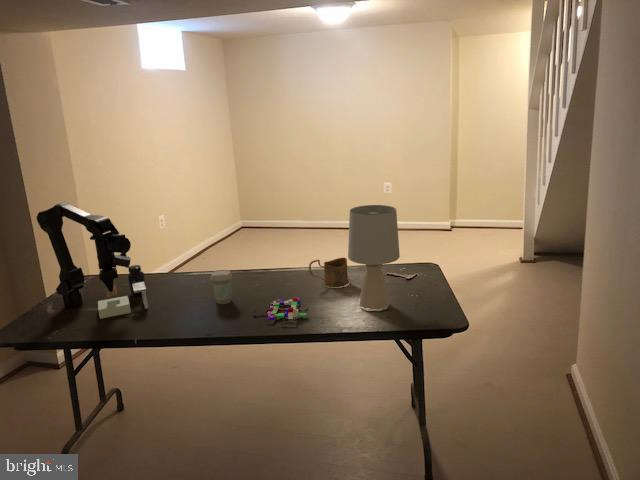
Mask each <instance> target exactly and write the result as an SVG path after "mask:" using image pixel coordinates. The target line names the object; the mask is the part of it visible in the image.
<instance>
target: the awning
mask: <svg viewBox="0 0 640 480" xmlns="http://www.w3.org/2000/svg"><path fill="white" fill-rule="evenodd" d="M132 286H133V290H134V293H137V292H142V295H141V298H142V303H143V307H144V309H145V310H147V309H149V304H148V298H147V293H146V288H147V286H146V287H145V284H144V282H140V283H134V284H132Z"/></svg>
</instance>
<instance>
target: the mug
mask: <svg viewBox="0 0 640 480" xmlns="http://www.w3.org/2000/svg"><path fill="white" fill-rule="evenodd" d="M316 262H317V264H318V265H319V267H321V268H322V269H323V268H324V269H323V270H324V272H323V273H324V278H322V277H321V276H319V275H315V274H313V272H312V264H314V263H316ZM320 262H321V261H320V259H315V260H311V261H310V263H309V264H308V269H309V273H310V275H311V276H313V277H315V278H318V279H320V280H322V281H323V282H322V285H323V284H324V285H325V286H329V287H340V286H344V285H346V284H348V283H349V281H350V280H349V277H348V259H347V258H346V257H339V258H335V259H331V260H329V261H325V262H323V265H321V263H320Z"/></svg>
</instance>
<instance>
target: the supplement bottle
mask: <svg viewBox="0 0 640 480" xmlns="http://www.w3.org/2000/svg"><path fill="white" fill-rule="evenodd" d="M127 269H128V273H127V276H126V278H127V284H128V291H129V295H130V296H131V297H142V292H137V293H134V290H133V286H132V284H134V283H140V282H144V284H145V287H146V294H147V292H148V289H147V283H146V277H145V273H144V272H143V271H142V268H141V265H140V264H139V265H138V264H134V265H129V268H127Z"/></svg>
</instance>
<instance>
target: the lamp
mask: <svg viewBox="0 0 640 480" xmlns="http://www.w3.org/2000/svg"><path fill="white" fill-rule="evenodd" d="M348 222H349V223H348V245H347V246H348V249H347V258H348V260H349V261H351V262H353V263H356V264H361V265H365V268H366V271H365V274H364V276H363V279H362V283H361V289H360V295H359V299H360V300H359V306H360V305H361V306H362V307H364V308H370V309H380V308H384V307H387V306H388V305H389V304H390V296H389V291H388V284H387V280H386V277H385V274H384V272H383V271H382V269H381V268H382V266H383V265H386V264H387V265H388V264H390V263H393V262H396V261H398V260H399V259H400V257H401V256H400V244H399V243H400V242H399V241H400V240H399V228H398V214H397V208H396V207H394V206H390V205H382V204H368V205H359V206H355V207H352V208H350V210H349V219H348Z"/></svg>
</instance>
